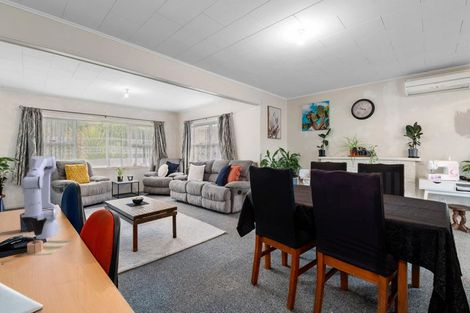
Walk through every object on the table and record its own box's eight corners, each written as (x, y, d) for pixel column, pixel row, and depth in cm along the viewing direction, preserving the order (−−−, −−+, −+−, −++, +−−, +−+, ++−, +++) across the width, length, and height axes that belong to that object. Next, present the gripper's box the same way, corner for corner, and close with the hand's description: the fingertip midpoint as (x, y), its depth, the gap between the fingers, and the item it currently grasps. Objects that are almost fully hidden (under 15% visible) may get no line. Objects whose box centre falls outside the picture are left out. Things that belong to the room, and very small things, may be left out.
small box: (19, 232, 127) (18, 214, 126) (26, 228, 133) (26, 211, 133) (41, 230, 130) (40, 212, 129) (47, 226, 136) (47, 209, 136)
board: (48, 243, 111) (48, 230, 111) (73, 241, 112) (73, 229, 112) (20, 258, 95) (19, 244, 95) (50, 257, 96) (49, 243, 96)
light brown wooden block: (26, 252, 99) (25, 243, 98) (40, 247, 103) (39, 239, 103) (30, 254, 96) (30, 245, 96) (44, 250, 100) (44, 241, 100)
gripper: (14, 203, 99) (16, 233, 99) (28, 207, 92) (29, 239, 92) (35, 200, 105) (36, 228, 105) (48, 203, 98) (50, 233, 98)
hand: (34, 233), depth 99 cm, fingers open, 7 cm apart
